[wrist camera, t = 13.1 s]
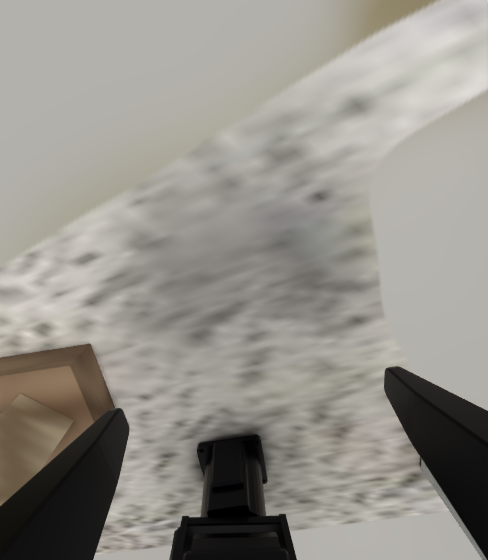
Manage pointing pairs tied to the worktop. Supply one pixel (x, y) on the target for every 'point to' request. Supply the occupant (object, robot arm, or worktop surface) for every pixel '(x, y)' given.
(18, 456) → the ash block
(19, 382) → the walnut block
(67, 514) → the robot arm
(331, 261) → the worktop surface
